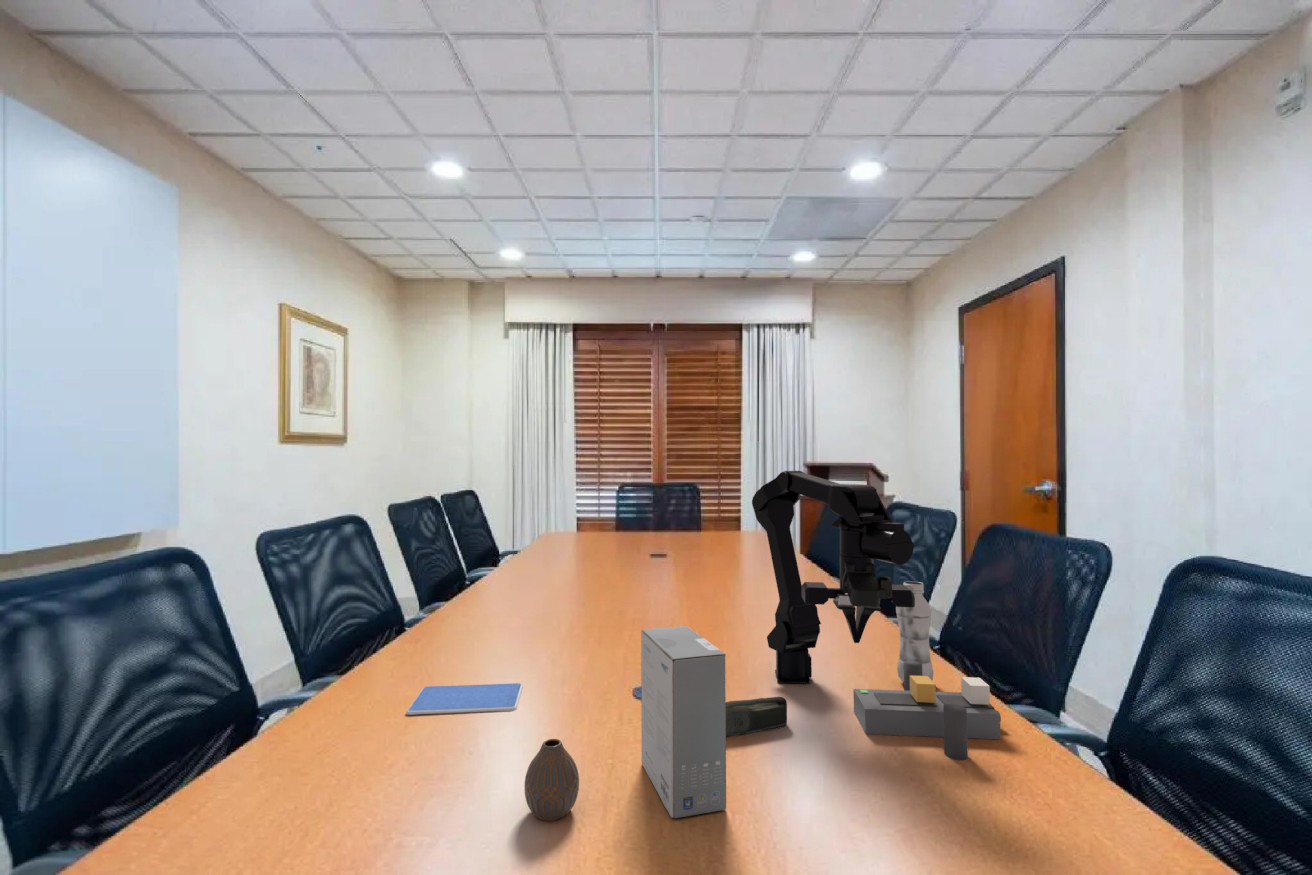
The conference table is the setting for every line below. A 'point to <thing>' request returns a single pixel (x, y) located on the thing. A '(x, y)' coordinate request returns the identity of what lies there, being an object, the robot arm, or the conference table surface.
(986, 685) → the toggle ivory
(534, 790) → the vase
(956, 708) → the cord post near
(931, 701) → the toggle amber
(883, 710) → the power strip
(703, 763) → the hard drive box
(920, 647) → the plastic bottle
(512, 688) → the tablet computer
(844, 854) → the conference table surface
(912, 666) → the cylinder
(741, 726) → the dark green rounded bar
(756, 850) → the conference table surface
